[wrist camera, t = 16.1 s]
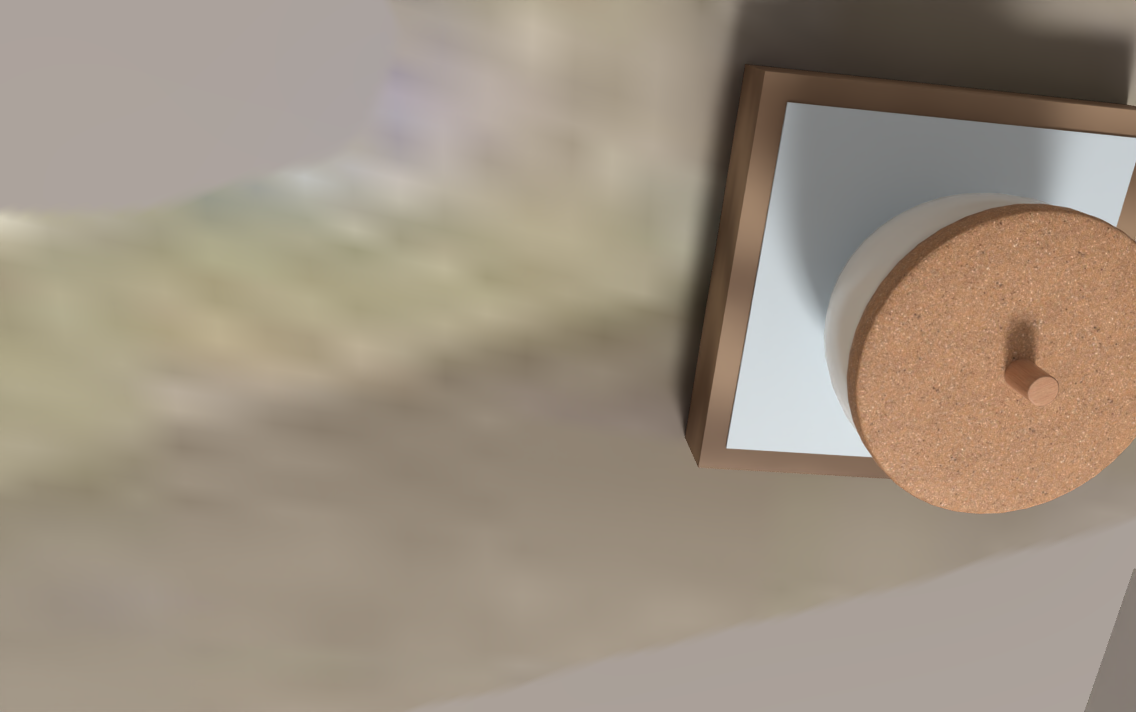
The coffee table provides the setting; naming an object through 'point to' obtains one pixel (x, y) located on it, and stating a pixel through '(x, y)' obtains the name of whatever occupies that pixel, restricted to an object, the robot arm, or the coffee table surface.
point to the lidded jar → (988, 349)
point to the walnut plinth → (859, 233)
